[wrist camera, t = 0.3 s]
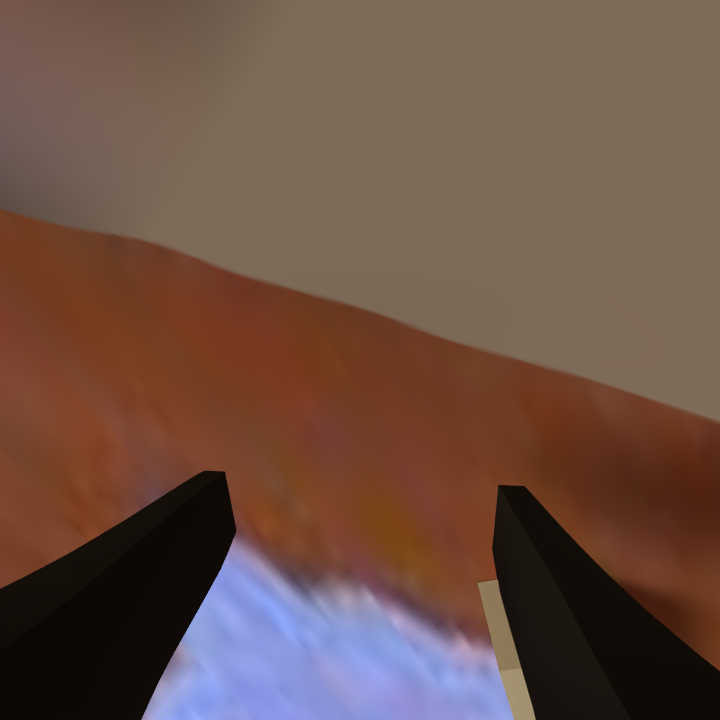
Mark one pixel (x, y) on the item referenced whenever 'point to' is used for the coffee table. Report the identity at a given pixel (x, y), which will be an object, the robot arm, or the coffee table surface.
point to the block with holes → (505, 652)
